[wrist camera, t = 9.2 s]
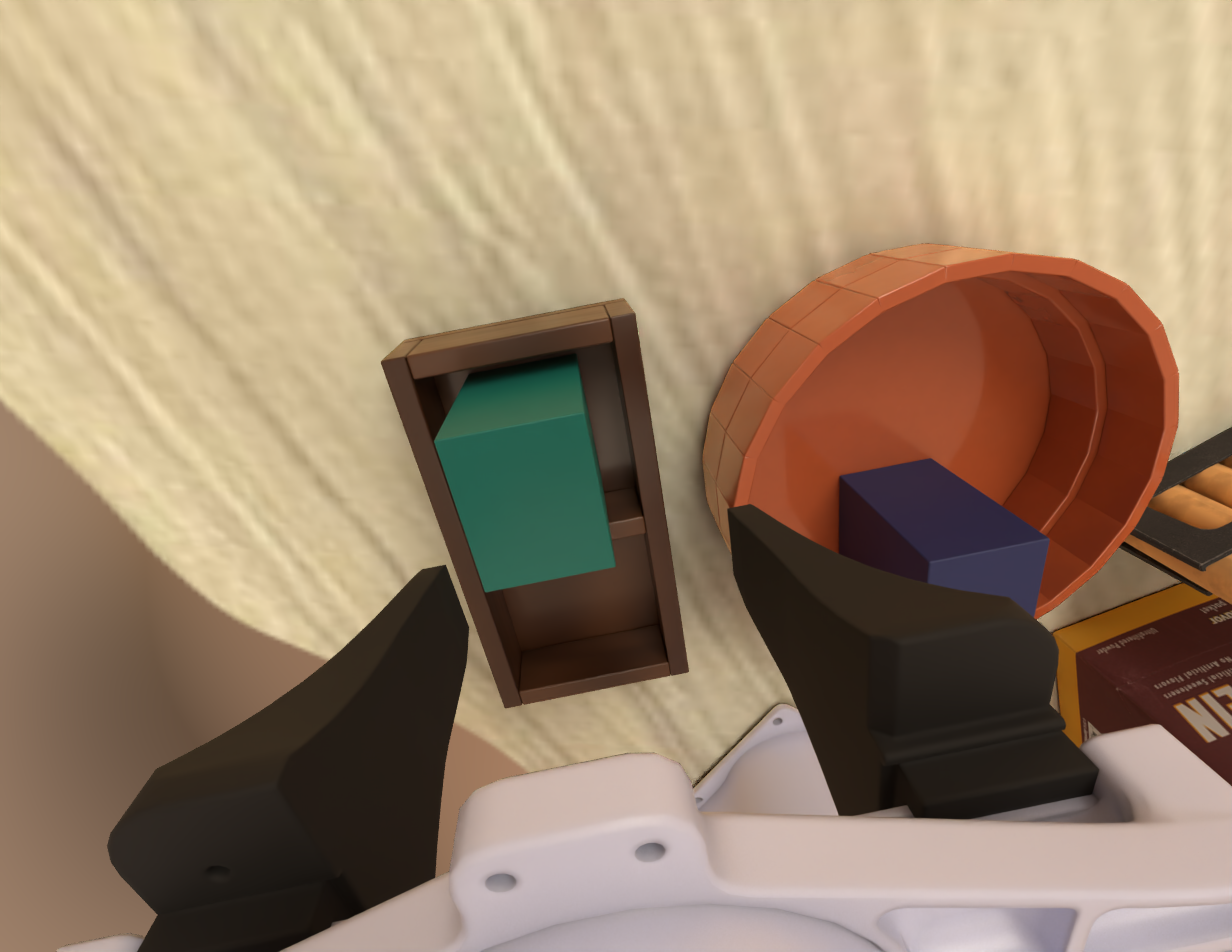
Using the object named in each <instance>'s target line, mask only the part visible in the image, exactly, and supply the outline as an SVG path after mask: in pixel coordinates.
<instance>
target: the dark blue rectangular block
mask: <svg viewBox="0 0 1232 952" xmlns="http://www.w3.org/2000/svg"><path fill="white" fill-rule="evenodd" d="M1049 542H1050V539H1049V538H1048V537H1047V536H1045V535H1044V534H1042V533H1041V532H1039V531H1038V530H1036V529H1035V528H1033V527H1032V526H1031V525H1029V524H1028V523H1026V522H1025V521H1023V520H1022V519H1020V518H1019V517H1017V516H1016V515H1014V514H1013V513H1011V512H1010V511H1008V510H1007V509H1005V508H1004V507H1003V506H1001V505H1000V504H998V503H997V502H995V501H994V500H992V499H991V498H989V497H988V496H986V495H985V494H983V493H982V492H980V491H979V490H977V489H976V488H975V487H973V486H972V485H970V484H969V483H967V482H966V481H964V480H963V479H961V478H960V477H958V476H957V475H955V474H954V473H952V472H951V471H949V470H948V469H946V468H945V467H944V466H942V465H941V464H939V463H938V462H936V461H935V460H933V459H932V458H928V459H923V460H918V461H913V462H908V463H903V464H897V465H892V466H887V467H882V468H877V469H872V470H867V471H862V472H856V473H851V474H846V475H841V476H840V477H839V554H841V555H843V556H845V557H847V558H850V559H852V560H855V561H858V562H860V563H863V564H865V565H868V566H870V567H873V568H876V569H879V570H882V571H885V572H888V573H892V574H895V575H898V576H902V577H905V578H909V579H912V580H916V581H920V582H924V583H928V584H933V585H938V586H943V587H947V588H952V589H957V590H963V591H970V592H977V593H985V594H992V595H999V596H1006V597H1009V598H1011V599H1012V600H1013V601H1015V602H1016V603H1017V604H1018V605H1020V606H1021V607H1022V608H1023V609H1024V610H1026V611H1027V612H1028V613H1029V614H1030V615H1031V616H1033V617H1034V615H1035V611H1036V606H1037V601H1038V596H1039V591H1040V586H1041V581H1042V576H1043V571H1044V566H1045V561H1046V556H1047V552H1048V547H1049Z"/></svg>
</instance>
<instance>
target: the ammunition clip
mask: <svg viewBox="0 0 1232 952" xmlns="http://www.w3.org/2000/svg"><path fill="white" fill-rule="evenodd" d="M1119 548H1121V549H1123V550H1125V551H1126V552H1128V553H1130V554H1132V555H1134V556H1136V557H1137V558H1139V559H1141V560H1143V561H1145V562H1146V563H1148V564H1150V565H1152V566H1154V567H1156V568H1157V569H1159V570H1161V571H1163V572H1165V573H1167V574H1168V575H1170V576H1172V577H1174V578H1176V579H1177V580H1179V581H1181V582H1183V583H1185V584H1186V585H1188V586H1190V587H1192V588H1194V589H1195V590H1197V591H1199V592H1201V593H1202V594H1204V595H1206V596H1211V595H1213V594H1215V595H1216V596H1218V597H1220V598H1222V599H1223V600H1225V601H1227V602H1228V603H1230V604H1232V427H1231V428H1230V429H1228V430H1226V431H1224V432H1222V433H1220V434H1219V435H1217V436H1215V437H1213V438H1211V439H1209V440H1208V441H1206V442H1204V443H1202V444H1200V445H1198V446H1197V447H1195V448H1193V449H1191V450H1189V451H1187V452H1186V453H1184V454H1182V455H1180V456H1178V457H1176V458H1175V459H1173V460H1171V461H1169V462H1167V466H1166V469H1165V473H1164V476H1163V477H1162V481H1161V482H1160V484H1159V486H1158V488H1157V490H1156V491H1155V493H1154V495H1153V497H1152V499H1151V500H1150V502H1149V504H1148V506H1147V508H1146V509H1145V511H1144V513H1143V515H1142V517H1141V518H1140V520H1139V522H1138V524H1137V526H1136V527H1135V528H1134V530H1133V531H1132V532H1131V533H1130V534H1129V536H1128V537H1127V538H1126V539H1125V540H1124V542H1123V543H1122V544H1121V545H1120V546H1119Z"/></svg>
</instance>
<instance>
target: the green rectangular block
mask: <svg viewBox="0 0 1232 952" xmlns="http://www.w3.org/2000/svg"><path fill="white" fill-rule="evenodd" d="M434 443H435V446H436V449H437V452H438V455H439V458H440V461H441V464H442V467H443V470H444V473H445V476H446V479H447V482H448V485H449V488H450V491H451V494H452V497H453V500H454V502H455V505H456V508H457V511H458V514H459V517H460V520H461V523H462V526H463V529H464V532H465V535H466V538H467V541H468V544H469V547H470V550H471V553H472V556H473V559H474V562H475V565H476V568H477V571H478V574H479V576H480V579H481V582H482V585H483V588H484V591H485V592H491V591H496V590H501V589H506V588H511V587H517V586H522V585H527V584H532V583H537V582H542V581H547V580H552V579H557V578H562V577H567V576H573V575H578V574H583V573H588V572H593V571H598V570H603V569H608V568H613V567H616V562H615V556H614V550H613V544H612V538H611V532H610V526H609V520H608V514H607V508H606V502H605V496H604V490H603V484H602V478H601V472H600V467H599V462H598V457H597V452H596V447H595V442H594V437H593V432H592V427H591V422H590V417H589V412H588V407H587V402H586V398H585V393H584V388H583V383H582V378H581V373H580V368H579V363H578V358H577V354H570V355H565V356H560V357H554V358H549V359H544V360H539V361H533V362H528V363H523V364H518V365H513V366H507V367H502V368H497V369H492V370H487V371H481V372H476V373H471V374H468V376H467V378H466V380H465V382H464V384H463V386H462V388H461V390H460V392H459V394H458V395H457V397H456V399H455V401H454V403H453V405H452V407H451V409H450V411H449V413H448V415H447V417H446V419H445V421H444V423H443V425H442V426H441V428H440V430H439V432H438V434H437V436H436V438H435V440H434Z"/></svg>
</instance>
